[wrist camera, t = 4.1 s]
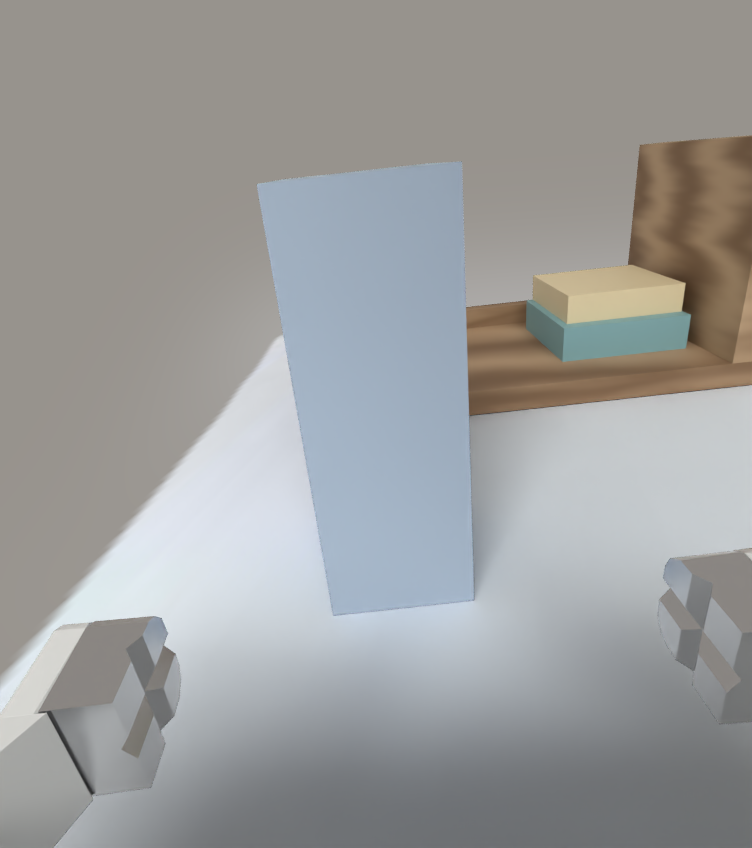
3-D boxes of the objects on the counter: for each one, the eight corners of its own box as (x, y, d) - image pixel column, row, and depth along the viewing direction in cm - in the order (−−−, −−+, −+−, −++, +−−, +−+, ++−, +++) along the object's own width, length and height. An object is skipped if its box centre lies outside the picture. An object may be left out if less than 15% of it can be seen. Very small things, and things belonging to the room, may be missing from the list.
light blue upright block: (446, 504, 25) (428, 163, 19) (474, 600, 19) (461, 161, 13) (336, 516, 25) (283, 179, 19) (333, 615, 19) (256, 184, 13)
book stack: (686, 348, 35) (695, 285, 33) (562, 361, 35) (565, 300, 33) (627, 317, 42) (633, 264, 41) (525, 328, 42) (526, 276, 41)
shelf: (752, 384, 33) (807, 130, 27) (348, 428, 33) (315, 185, 27) (639, 323, 45) (660, 142, 39) (348, 355, 45) (325, 179, 40)
